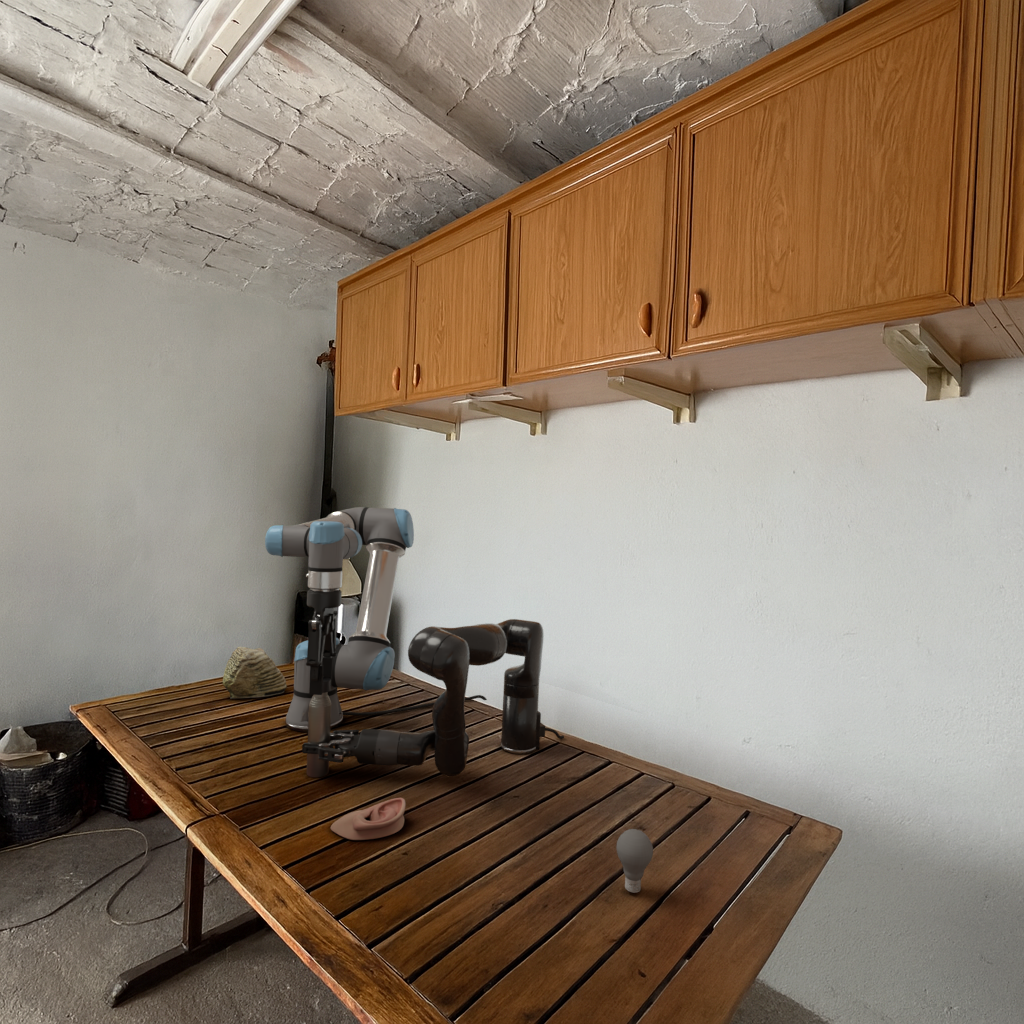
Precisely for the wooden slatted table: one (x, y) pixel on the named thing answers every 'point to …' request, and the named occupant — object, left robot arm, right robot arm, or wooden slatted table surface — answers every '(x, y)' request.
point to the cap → (326, 684)
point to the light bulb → (634, 857)
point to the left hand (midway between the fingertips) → (320, 689)
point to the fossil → (252, 674)
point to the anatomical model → (372, 821)
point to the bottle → (318, 732)
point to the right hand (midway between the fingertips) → (307, 743)
